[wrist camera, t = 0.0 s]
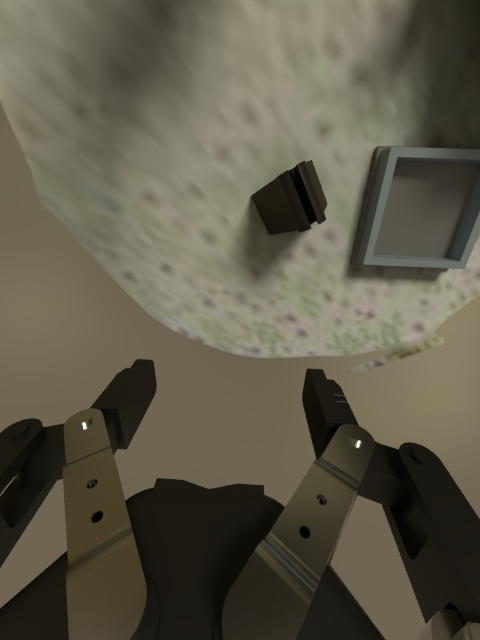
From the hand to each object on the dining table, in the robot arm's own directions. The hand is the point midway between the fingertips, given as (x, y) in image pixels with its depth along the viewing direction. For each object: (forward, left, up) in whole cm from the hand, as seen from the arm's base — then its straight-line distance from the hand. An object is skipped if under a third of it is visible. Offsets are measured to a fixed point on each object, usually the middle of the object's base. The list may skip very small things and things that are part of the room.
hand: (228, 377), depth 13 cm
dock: (-8, +24, -29) cm, 39 cm away
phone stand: (-9, +6, -30) cm, 31 cm away
